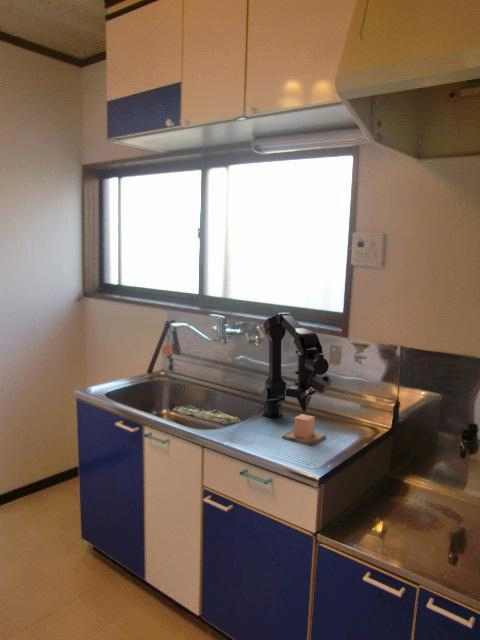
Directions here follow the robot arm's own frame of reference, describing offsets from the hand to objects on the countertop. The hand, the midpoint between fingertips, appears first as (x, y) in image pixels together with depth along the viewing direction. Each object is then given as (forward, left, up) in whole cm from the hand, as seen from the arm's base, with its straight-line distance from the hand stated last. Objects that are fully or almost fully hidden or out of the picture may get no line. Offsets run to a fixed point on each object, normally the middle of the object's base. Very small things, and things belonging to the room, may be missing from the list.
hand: (304, 411), depth 178 cm
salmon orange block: (0, 0, -9) cm, 9 cm away
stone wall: (-43, -2, -11) cm, 45 cm away
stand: (0, 0, -10) cm, 10 cm away
